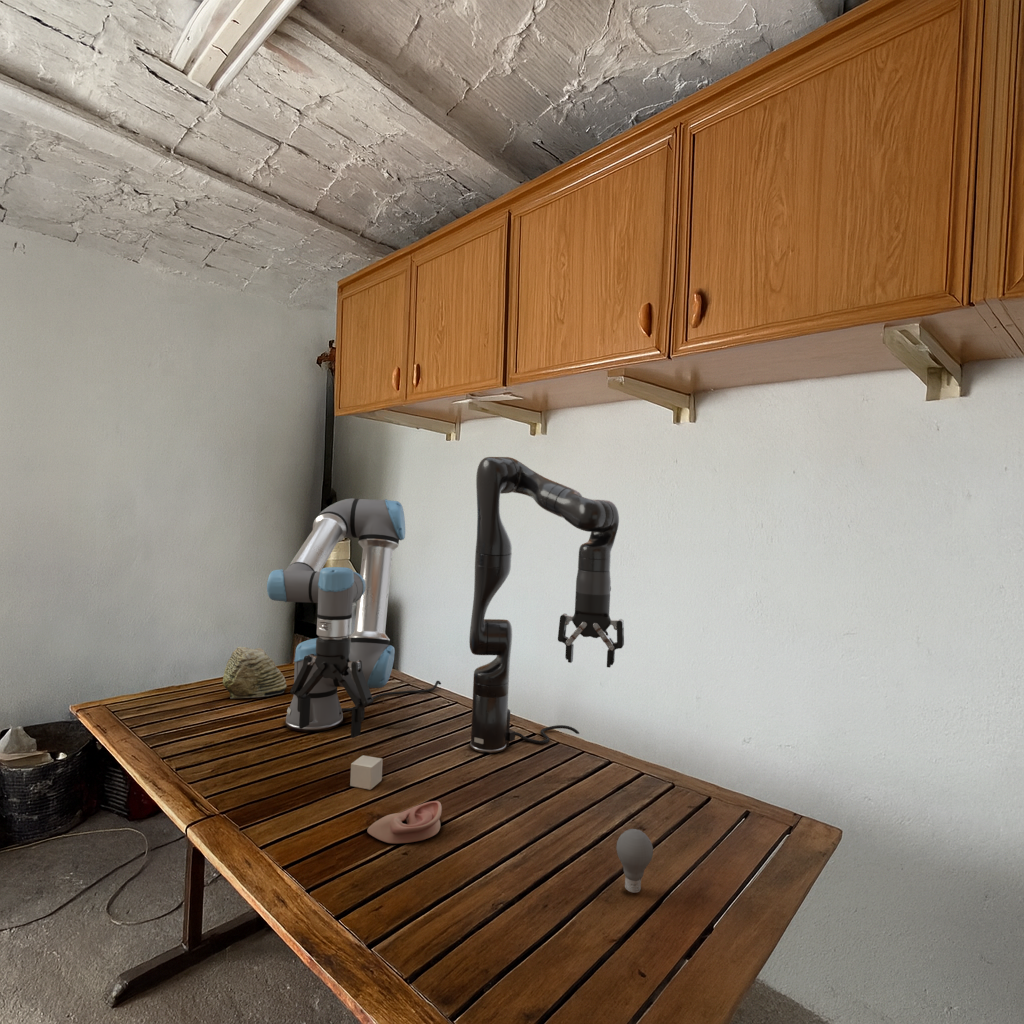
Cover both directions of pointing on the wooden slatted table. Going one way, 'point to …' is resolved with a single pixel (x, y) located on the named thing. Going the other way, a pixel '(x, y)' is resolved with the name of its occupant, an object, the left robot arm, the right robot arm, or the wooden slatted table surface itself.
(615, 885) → the wooden slatted table surface
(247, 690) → the fossil
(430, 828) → the anatomical model
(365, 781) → the block
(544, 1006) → the wooden slatted table surface
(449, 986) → the wooden slatted table surface
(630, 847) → the light bulb
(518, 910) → the wooden slatted table surface
